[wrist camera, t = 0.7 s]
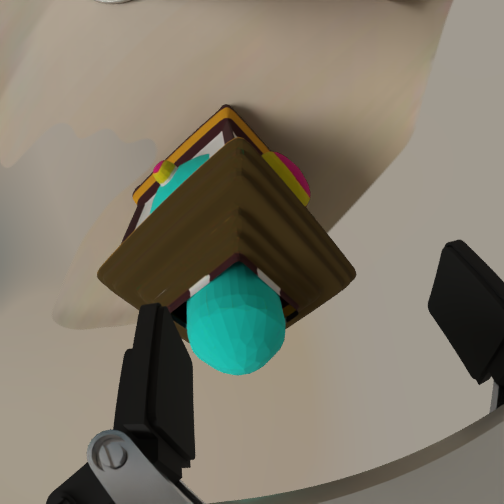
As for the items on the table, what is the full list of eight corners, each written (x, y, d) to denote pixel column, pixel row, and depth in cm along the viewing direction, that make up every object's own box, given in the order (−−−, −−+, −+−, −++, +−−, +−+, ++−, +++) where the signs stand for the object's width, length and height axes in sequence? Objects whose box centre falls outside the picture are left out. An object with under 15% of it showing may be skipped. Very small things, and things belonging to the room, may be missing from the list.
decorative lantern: (227, 87, 36) (268, 127, 11) (316, 191, 46) (424, 346, 21) (123, 188, 41) (36, 358, 16) (217, 269, 51) (232, 448, 26)
